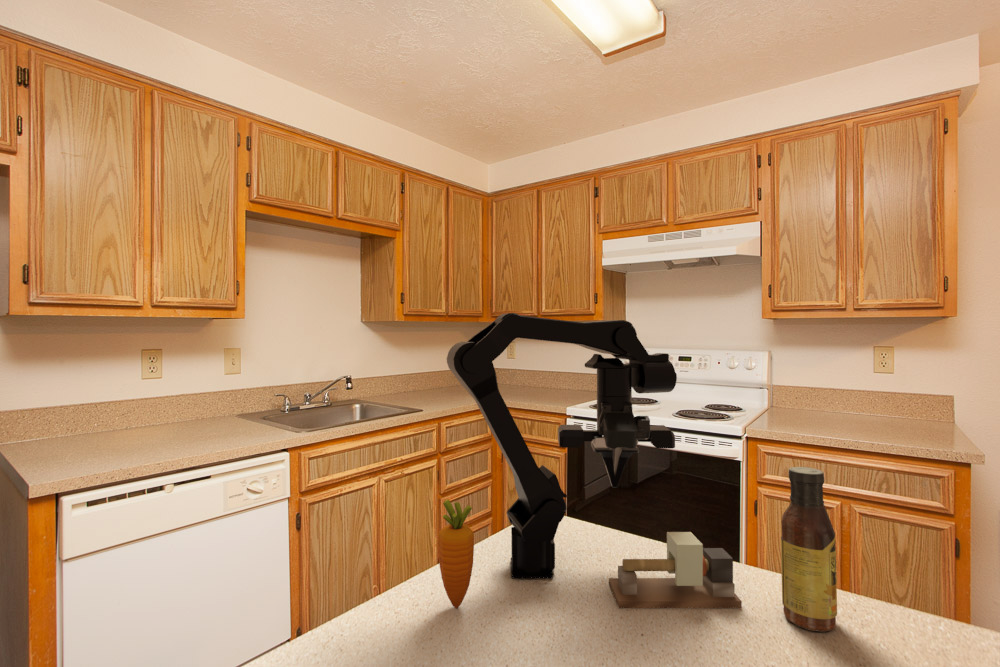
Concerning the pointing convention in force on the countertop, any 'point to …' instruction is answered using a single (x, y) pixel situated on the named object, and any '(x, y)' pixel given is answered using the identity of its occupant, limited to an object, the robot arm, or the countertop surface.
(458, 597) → the carrot
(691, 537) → the cream block
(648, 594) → the cable stand
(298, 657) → the countertop surface
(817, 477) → the sauce bottle
